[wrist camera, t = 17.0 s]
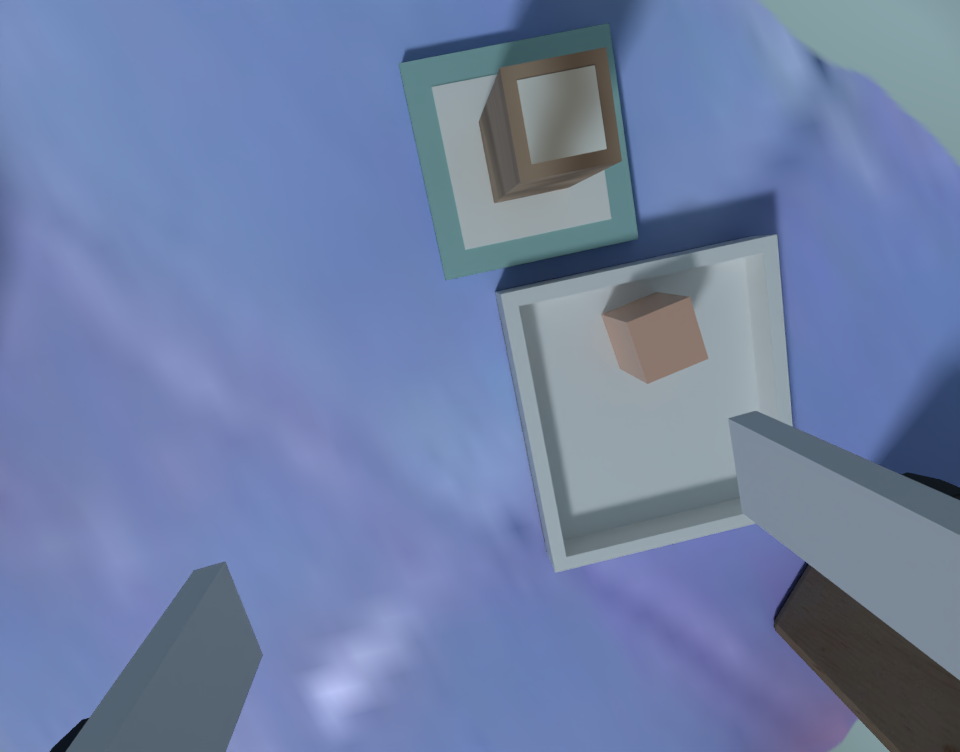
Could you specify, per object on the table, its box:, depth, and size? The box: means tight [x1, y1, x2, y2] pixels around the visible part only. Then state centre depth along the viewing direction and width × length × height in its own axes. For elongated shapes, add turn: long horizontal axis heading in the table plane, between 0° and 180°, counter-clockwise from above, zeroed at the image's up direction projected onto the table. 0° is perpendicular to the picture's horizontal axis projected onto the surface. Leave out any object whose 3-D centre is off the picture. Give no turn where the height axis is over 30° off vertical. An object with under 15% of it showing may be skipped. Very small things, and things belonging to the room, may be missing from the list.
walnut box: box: [479, 47, 622, 203], centre depth 36 cm, size 6×6×12 cm
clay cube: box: [601, 292, 708, 384], centre depth 44 cm, size 5×5×6 cm
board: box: [399, 23, 639, 280], centre depth 43 cm, size 16×16×1 cm
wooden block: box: [774, 565, 960, 752], centre depth 45 cm, size 10×10×20 cm
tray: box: [495, 234, 793, 573], centre depth 47 cm, size 22×24×4 cm
